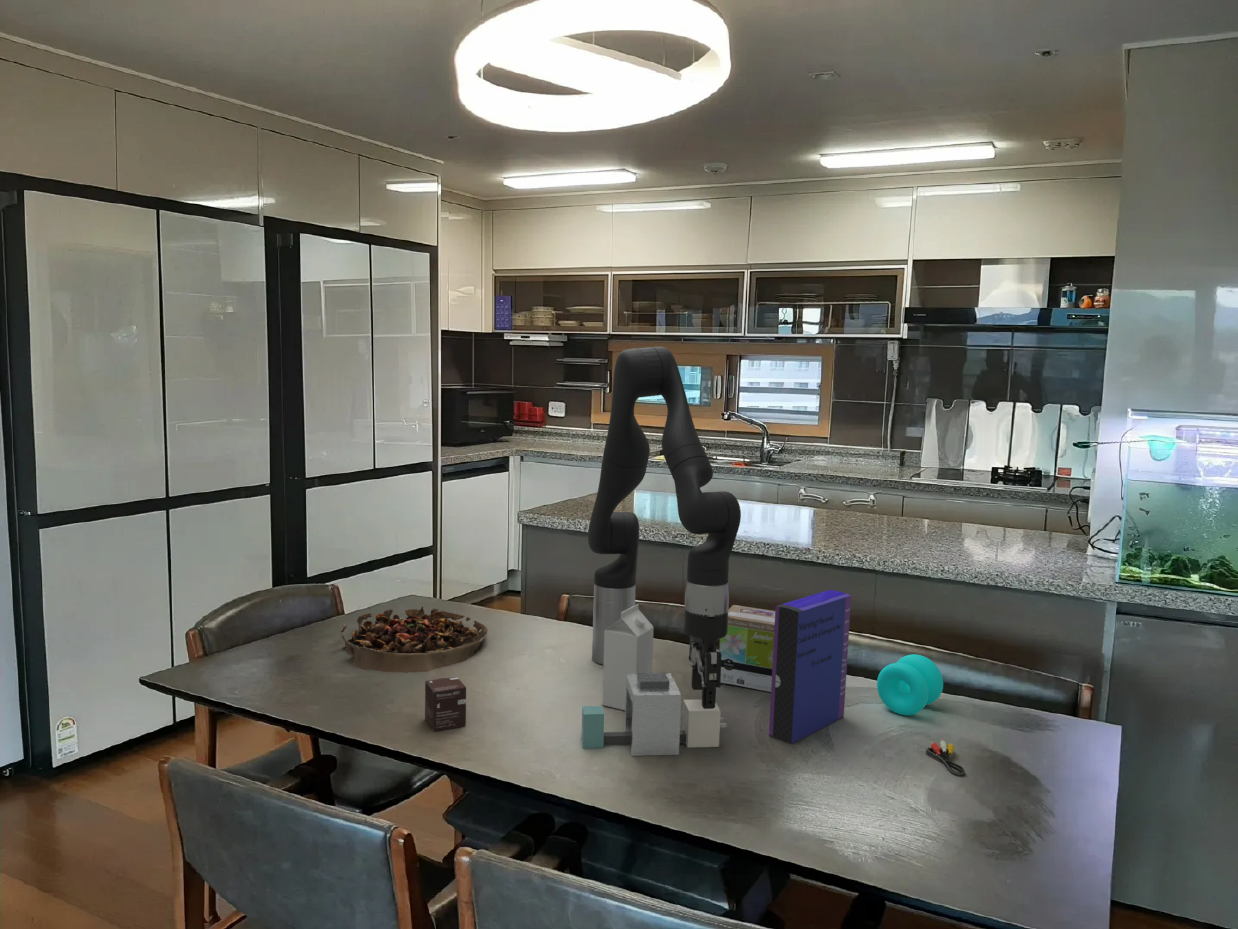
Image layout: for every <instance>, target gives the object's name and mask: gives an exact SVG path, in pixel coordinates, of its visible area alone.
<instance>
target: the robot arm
mask: <svg viewBox="0 0 1238 929" xmlns="http://www.w3.org/2000/svg"><path fill="white" fill-rule="evenodd" d="M612 379H613V381H612V394H611V396H612V397H611V407H610V416H609V424H608V428H607V435H606V440H605V444H604V449H603V452H602V453H603V455H602V460H601V465H600V466H601V467H600V474H599V482H598V489H597V493H596V498H595V501H594V504H593V509H592V511H591V515H590V516H591V517H590V519H589V525H588V531H587V539H588V540H587V541H588V546H589V549H590V550H591V551H592V552H593V553H594V554H598V555H619V556H618V558H616V559H615V560H613V562H611V563H610V562H609V564H607V565H603V566H602V567H598V568H597V569H596V571H595V572H594V576H593V610H592V611H593V614H592V615H593V616H592V641H591V642H592V643H591V646H592V648H591V658H592V659H591V660H592V661H593V662H595V663H598V664H599V665H603V666H604V632H605V631H604V630H606V629H607V628H608V627H610V626H611V625H612V624H614V623H615V622H616V621H618V620H619V619H620V618H621V612H623V611H625V610H627V609H629V608H631V607H633V606H635V605H636V586H637V585H636V581H637V572H638V571H637V570H638V568H637V567H638V553H639V542H640V524H639V519H638V516H637V514H635V512H631V511H629V512H628V511H615V510H616V508H617V507H618V506H619V505H620V503H622V502H623V501H624V500H625V499H626V498H627V497H628V496H629V495H630V494H632V492H634V490H636V489H637V487H639V485H641V483H642V481H643V480H644V478H645V475H646V473H647V468H648V464H649V463H648V462H649V459H650V452H651V448H650V443H649V441H648V437H647V436H646V434H645V432H644V431H643V429H642V427H641V426H640V424H639V422H638V420H637V419H636V416H635V407H636V406H635V405H636V401H637V400H638V399H639V398H646V397H656V396H657V397H659V396H661V397H662V398H663V400H664V402H665V404H666V407H667V415H666V420H665V425H664V427H663V433H662V436H661V437H662V438H661V449H662V454H663V458H664V460H665V463H666V465H667V467H668V469H669V472H670V475H671V477H672V479H673V481H674V482H673V483H674V487H675V488H674V489H675V495H676V502H677V503H676V504H677V514H678V518H679V522H680V523H681V525H682V526H683V528H684V529H686V530H687V531H688V532H689V533H690V534H693V535H707V534H708V535H707V536H706V538H705V540H704V541H703V543H701V544H699V545H696V546H694V547H692V548H691V549H690V550H689V551H688V555H687V567H686V568H687V572H686V575H687V576H686V586H685V592H684V613H683V614H684V615H683V616H684V617H683V632H684V633H685V635H686V636H688V637H689V651H688V652H689V653H688V654H689V655H688V661H689V662H690V667H691V689H692V690H693V691H702V692H701V699H702V707H703V708H704V709H713V708H715V702H716V703H717V701H716V699H717V688H721V686H722V683H721V657H722V654H721V652H719V647H718V646H717V644H716V641H717V640H720V638H723V637H725V636H726V635H727V632H728V610H729V608H730V607H729V603H730V602H729V601H730V594H729V593H730V590H729V573H730V572H729V569H730V564H729V562H730V557H731V554H732V551H733V549H734V544H735V541H736V538H737V534H738V532H739V529H740V525H741V518H742V512H741V511H742V510H741V505H740V503H739V500H738V499H737V497H736V496H735V495H734V494H733V493H731V492H729V491H722V490H721V491H705V492H704V491H702V490H701V488H702V487H705V486H706V485H707V484H709V482H710V481H712V478H713V476H714V470H713V466H712V465H711V462H710V459H709V458H708V455H707V453H706V451H705V449H704V447H703V445H702V444H703V443H702V442H701V440H700V438H699V434H698V433H697V430H696V427H695V424H694V422H693V418H692V417H693V416H692V414H691V409H690V405H689V401H688V397H687V394H686V391H685V387H684V382H683V379H682V376H681V373H680V368H679V367H678V363H677V361H676V358H675V356H674V355H673V354H672V351H671V350H670V349H668V348H667V347H664V346H649V347H648V346H647V347H640V348H639V347H637V348H634V347H633V348H627V349H624V350H622V351H621V352H620V353H619V354H618V355H617V358H616V361H615V365H614V371H613V378H612ZM710 675H712V679H710Z"/></svg>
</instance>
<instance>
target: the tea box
mask: <svg viewBox="0 0 1238 929" xmlns="http://www.w3.org/2000/svg"><path fill="white" fill-rule="evenodd" d="M774 627H775V610H770V609H762V608H759V607H758V608H757V607H749V606H744V605H739V604H738V605H737V604H733V605H731V607H729V608H728V632H727V635H726V636H725V637H723V638H719V647H718V650H719V652H721V654H722V657H721V684H728V685H733V686H739V687H744V688H748V689H753V690H758V691H763V692H769V693H771V685H772V666H773V646H774Z"/></svg>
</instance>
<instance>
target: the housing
mask: <svg viewBox="0 0 1238 929" xmlns="http://www.w3.org/2000/svg"><path fill="white" fill-rule="evenodd" d="M681 709H682V693H681V691H680V690H679V687H678V686H677V682H676V681H675V679H674V677H673V676H672V673H671V672H668V673H666V672H652V673H637V674H626V699H625V710H624V729H623V730H624V731H623V732H632V736H631V745H630V754H631V756H632V757H638V756H641V757H642V756H645V757H646V756H674V755H675V756H678V755H680V743H679V739H680V730H681V712H682V710H681Z"/></svg>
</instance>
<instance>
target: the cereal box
mask: <svg viewBox="0 0 1238 929" xmlns="http://www.w3.org/2000/svg"><path fill="white" fill-rule="evenodd" d="M851 605H852V595H851V594H848V593H846V592H843V591H839V590H831V589H827V590H824V591H820V592H818V593H814V594H811V595H807V596H804V597H801V598H797V599H795V600H791V601H788V602H784V603H781V604H777V605H775V608H774V609H775V610H774V611H775V627H774V646H773V666H772V685H771V692H770V709H769V726H768V736H769V737H771V738H774V739H777V740H779V741H781V742H783V743H785V744H786V743H787V744H788V745H791V746H792V745H793V744H795V743H798V742H799V741H801V740H803V739H806V738H807V737H809V736H811V735H812V734H815V733H817V732H820V731H821V730H823V729H825V728H826V727H828V726H830V725H832V724H834V723H836V722H838V721H840V720H842V719H844V718H845V715H844V714H845V704H846V702H845V701H846V688H847V687H846V685H847V683H846V682H847V671H848V668H847V667H848V653H849V652H848V651H849V639H850V638H849V636H850V621H851Z"/></svg>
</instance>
